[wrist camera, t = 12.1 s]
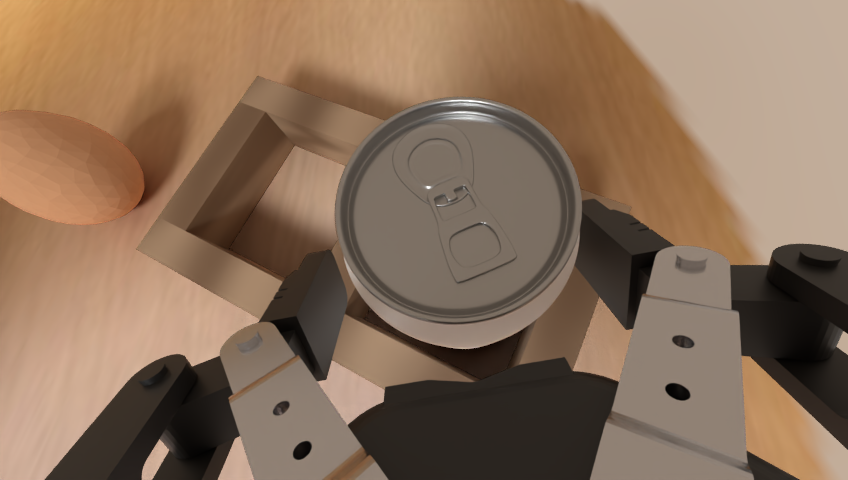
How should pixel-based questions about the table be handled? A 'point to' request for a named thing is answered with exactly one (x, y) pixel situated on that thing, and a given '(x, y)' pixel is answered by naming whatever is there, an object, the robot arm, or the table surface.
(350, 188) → the can
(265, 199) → the table surface
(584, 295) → the rack
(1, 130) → the egg
